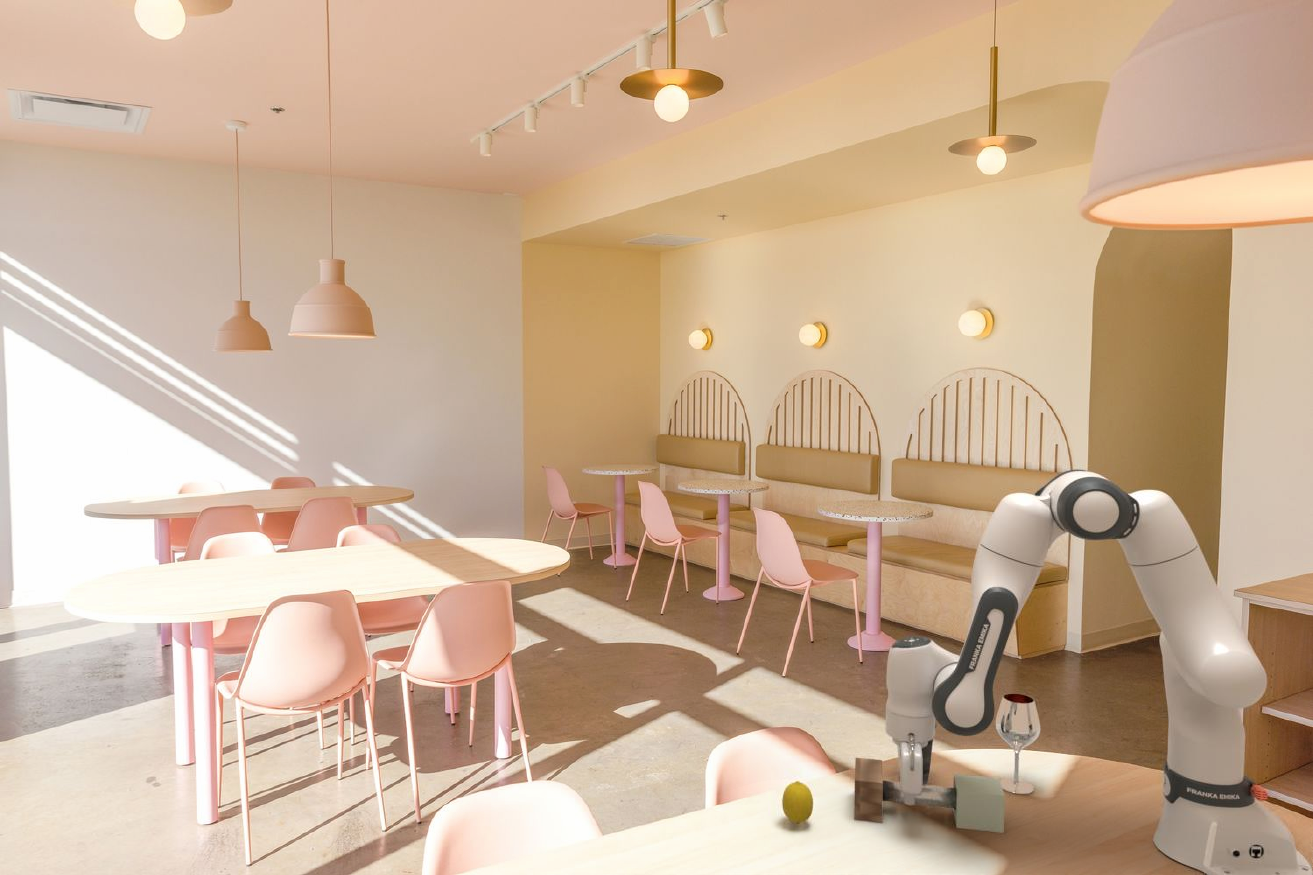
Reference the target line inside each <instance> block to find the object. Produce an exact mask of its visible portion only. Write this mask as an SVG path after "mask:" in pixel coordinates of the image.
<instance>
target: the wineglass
mask: <svg viewBox="0 0 1313 875" xmlns="http://www.w3.org/2000/svg"><path fill="white" fill-rule="evenodd" d="M995 728H996V731H997V733H998V734H999V736H1000V737H1001V739H1003V741H1004V742H1006V743H1007V744H1008V745H1009V746H1010V747H1011V748H1012V750H1013V752H1014V769H1013V770H1014V772H1013V778H1003V779H1002V780H1001V779H1000V783H1001V786H1002V789H1003V791H1005V792H1007V793H1011V794H1013V795H1028V794H1029V795H1030V794H1032V793H1033V792H1034V790H1035V789H1034V786H1033V785H1032V784H1031V783H1030V782H1027V781H1026V780H1025V781H1024V780H1023V779H1019V778H1020V776H1019V770H1020V769H1019V768H1020V753H1021V751H1022V750H1023V749H1025V748H1026V747H1027V746H1030V745H1031V744H1032V743H1034V742H1035V741H1036V740H1037V739H1038V737H1039V736H1040V734H1041V723H1040V718H1039V713H1038V709H1037V706H1036V702H1035V699H1034V698H1033V697H1031V696H1030V695H1026V694H1023V693H1017V692H1011V693H1005V694H1003V695H1002V698H1001V701H1000V704H999V707H998V711H997V713H996V717H995Z"/></svg>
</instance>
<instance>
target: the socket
mask: <svg viewBox="0 0 1313 875" xmlns="http://www.w3.org/2000/svg"><path fill="white" fill-rule="evenodd" d="M883 771H884V770H883V760H882V759H874V758H863V757H855V764H854V804H853V805H854V807H853V810H854V811H853V818H854V819H853V820H854V821H859V822H860V821H861V822H868V823H877V824H883V808H884V807H883V805H884V804H883V802H884V801H883V780H884V778H883V777H884V775H883V773H884V772H883Z"/></svg>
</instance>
